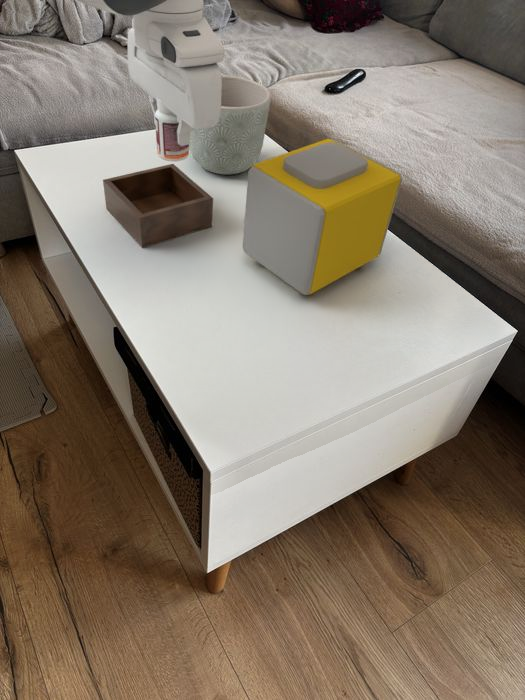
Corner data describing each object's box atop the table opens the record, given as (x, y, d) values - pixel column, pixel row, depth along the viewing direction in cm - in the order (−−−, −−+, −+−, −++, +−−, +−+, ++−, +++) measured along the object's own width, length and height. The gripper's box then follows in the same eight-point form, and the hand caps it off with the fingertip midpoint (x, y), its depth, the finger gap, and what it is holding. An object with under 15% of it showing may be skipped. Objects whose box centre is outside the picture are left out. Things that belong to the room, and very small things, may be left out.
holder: (142, 248, 92) (139, 218, 88) (106, 208, 100) (102, 179, 96) (212, 226, 99) (213, 198, 95) (173, 191, 106) (173, 163, 102)
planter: (168, 156, 117) (166, 81, 106) (233, 141, 125) (237, 69, 114) (213, 192, 108) (215, 114, 97) (279, 173, 116) (288, 99, 105)
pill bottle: (195, 154, 83) (195, 97, 77) (175, 165, 80) (173, 107, 74) (171, 144, 85) (169, 88, 79) (150, 155, 82) (146, 97, 76)
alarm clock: (314, 223, 103) (332, 126, 90) (380, 264, 96) (409, 164, 83) (236, 259, 93) (243, 155, 80) (302, 308, 85) (322, 202, 72)
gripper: (111, 8, 75) (121, 111, 84) (186, 57, 63) (187, 169, 73) (153, 5, 77) (158, 105, 87) (232, 51, 66) (227, 159, 76)
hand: (172, 134), depth 80 cm, fingers closed on pill bottle, 5 cm apart
